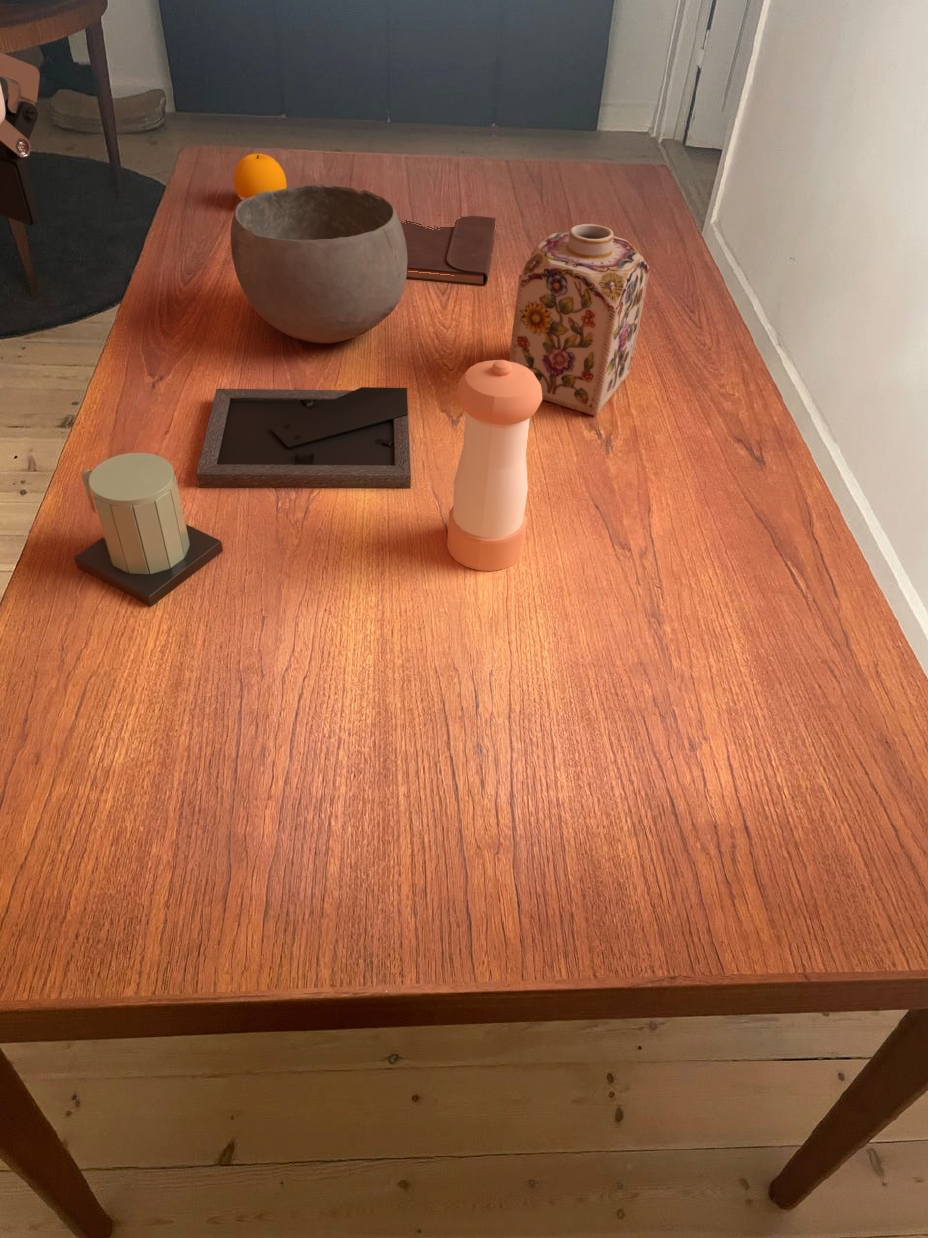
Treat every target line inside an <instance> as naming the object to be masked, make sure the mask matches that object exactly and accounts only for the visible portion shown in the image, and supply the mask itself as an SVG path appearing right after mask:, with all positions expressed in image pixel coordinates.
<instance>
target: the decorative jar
mask: <svg viewBox="0 0 928 1238" xmlns="http://www.w3.org/2000/svg"><path fill="white" fill-rule="evenodd" d="M649 265H650V264H648V263H647V261H646V260H645V259H644V256H643V254H642V253H641V252H640V251H639V250H637V248H635V246H634V245H632V244H631V243H630V242H629V241H628V240H627V239H625V238H622V237H618V236H615V235H614V232H613V230H612V229H610V228H609V227H607V226H604V225H600V224H596V223H583V224H576V225H574V226H572V227H571V228H570V229H569V231H561V232H553V233H550V234H548V235H547V236H545V237H544V238H543V239H541V240H540V241H539V242H538V243H537V244H536V246H535V247H534V249H533V251H532V252H531V253H530V257H529V258H528V260H527V261H526V263H525V266H524V268H523V270H522V272H521V274H519V276H518V281H517V282H518V286H517V293H516V300H515V308H514V316H513V324H512V330H511V331H512V333H511V341H510V352H509V360H508V361H509V362H514V363H518V364H520V365H522V366H525V367H527V368H528V369H529V370H531V371H532V372H533V373H534V375H535V376H536V378H537V380H538V381H539V383H540V385H541V389H542V401H547V402H548V403H549V402H550V403H552V404H555V405H559V406H562V407H565V408H567V409H571V410H574V411H577V412H581V413H584V414H587V415H590V416H594V417H596V416H598V414H600V412H601V411H602V409H603V408H604V407H605V406H606V405H607V404H608V402H609V401H610V399H611V398H612V397H613V396H614V394H615V393H616V391H617V390H618V389H619V388H620V386H621V384H622V383H623V382H624V381H625V380H626V379H627V377H628V376H629V374H630V372H631V369H632V364H633V360H634V355H635V350H636V345H637V341H638V336H639V330H640V325H641V319H642V314H643V309H644V305H645V299H646V292H647V288H648V287H647V285H648V281H649V276H650V273H651V268H650V266H649Z"/></svg>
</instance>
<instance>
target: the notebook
mask: <svg viewBox="0 0 928 1238" xmlns="http://www.w3.org/2000/svg"><path fill="white" fill-rule="evenodd" d="M461 217H462V218H460V219H458V220H456V222H455V226H454V227H440V228H438V227H436V228H437V229H435V228H432V227H429V226H427V227H429V228H432V229H434V230H432V229H429V228H426V227H423V226H419V225H422V224H419V223H416V224H419V225H416V224H412V223H415V222H411V221H407V220H405V221H406V222H404V223H402V222H403V221H402V222H400V223H401V226H402V229H403V233H404V237H405V241H406V248H407V261H408V262H407V275H406V280H407V279H408V280H418V281H419V280H420V281H427V282H428V281H429V282H440V283H451V284H462V285H472V286H473V285H474V286H483V287H485V286H486V285H487V283H488V281H489V275H490V268H491V262H492V256H493V255H492V256H491V253H492V254H493V250H492V245H493V246H494V244H493V237H494V231H495V230H494V229H495V221H496V222H497V219H496V217H491V216H479V215H468V216H461ZM408 222H409V223H408ZM405 223H406V224H405ZM434 227H435V226H434ZM496 227H498V226H497V225H496ZM425 228H426V229H425ZM441 228H442V229H441ZM438 229H440V230H438ZM496 231H497V230H496ZM496 231H495V233H496ZM408 271H418V272H408ZM419 272H431V273H439V274H429V273H419ZM440 274H450V275H440ZM451 275H454V276H451Z"/></svg>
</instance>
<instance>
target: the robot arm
mask: <svg viewBox="0 0 928 1238" xmlns="http://www.w3.org/2000/svg"><path fill="white" fill-rule="evenodd" d="M0 78H3V79H4V80H5V82H6V84H7V94H8V97H7V98H6V99H5V97H4V93H3V89H2V84H1V83H0V215H1V216H3V217H6V218H9V219H11V220H13V221H17V222H19V223H22V224H25V225H28V226H34V225H36V224H39V223H40V217H39V214H38V211H37V206H36V196H35V192H34V188H33V185H32V180H31V177H30V173H29V169H28V166H27V162H26V158H27V157H29V156H30V154H31V151H32V146H31V142H30V141H29V140H30V138H31V135H32V133H33V131H34V128H35V126H36V124H37V120H38V116H39V112H38V109H37V107H36V104H37V103H38V97H39V88H40V81H41V73H40V70H39V69H38V67H37V66H35V65H33V64H30V63H28V62H25V61H23V60H20V59H18V58H16V57H13V56H10V55H9V54H6V53H3V52H1V51H0Z"/></svg>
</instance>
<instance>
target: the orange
mask: <svg viewBox="0 0 928 1238" xmlns="http://www.w3.org/2000/svg"><path fill="white" fill-rule="evenodd" d="M285 174H286V173H285V172H284V169H283V168H282V167H281V165H280V164H279V162H278V161H277V160H276V159H274V158H273V157H272V156H270V155H267V154H264V153H251V154H247V155H245V156H244V157H243V158H242V159H240V160H239V161H238V162H237V164H236V166H235V169H234V172H233V178H232V183H233V188H234V192H235V194H236V195H237V194H239V195H240V196H242V197H245V198H250V197H251V196H255V195H256V194H259V193H262V192H266V191H277V190H281V189H286V188H288V187H287V186H288V183H287V177H286V175H285Z"/></svg>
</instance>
